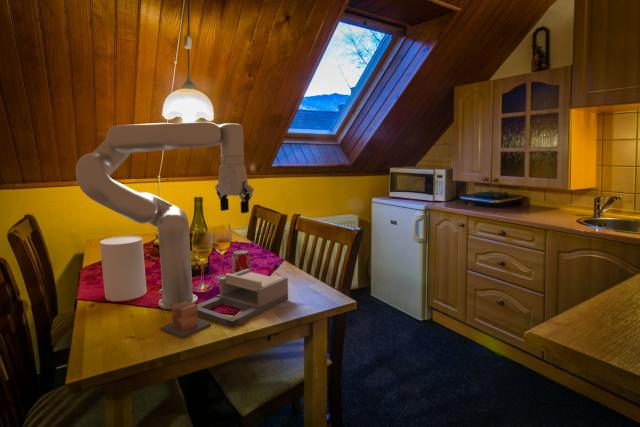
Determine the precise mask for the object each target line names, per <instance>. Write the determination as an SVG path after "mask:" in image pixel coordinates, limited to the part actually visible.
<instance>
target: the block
mask: <svg viewBox="0 0 640 427" xmlns="http://www.w3.org/2000/svg"><path fill="white" fill-rule="evenodd" d="M171 314H172V315H171V316H172V322H173V326H175V327H177V328H179V329H182V330H186V329H188V328H190V327H193V326H195V325H197V324H198V319H199V318H198V317H199V316H198V313H197V303H196V304H193V303H190V302H187V301H185V302H182V303H180V304H177V305H174V306H172V310H171Z"/></svg>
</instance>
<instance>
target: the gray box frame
mask: <svg viewBox="0 0 640 427" xmlns="http://www.w3.org/2000/svg"><path fill="white" fill-rule="evenodd" d="M249 272H250V269H245V270H242V271H239V272H237V273H234V274H233V275H237V276H240V275H243V274H246V273H249ZM288 281H289V279H288V277H286V276H285V277H281V278H279V280H276V281H274V282H272V283H269V284H267V285H264V286H262V287H260V288H257V291H253V290H250V289H246V288H242V287H238V286H234V285H230V284H227V283H226V282H225V276H223V277H220V278H218V285H219V294H217V295H216V296H215V297H213V298H210V299H208V300H205V301H203V302H200V303H196V305H197V313H198V317H199V318H203V319H206V320H208V321H211V322H214V323H217V324H220V325H223V326H226V327H229V328H231V329H233V328H235V327H237V326H239V325H241V324H244V323H245V322H248V321H249V320H252V319H254V318H256V317H257V316H261V314H264V313H265V312H267V311H269V310H271V309H273V308H276V307H277V306H279V305H281V304H283V303H286V302H288V301H289V282H288ZM219 304H221V305H223V304H225V305H224V306H227V305H229V306H228V307H230V306H232V307H231V308H233V307H236V308H235V309H237V308H238V309H237V310H240V311H241V312H239V313H237V314H235V315H233V316H229V315H226V314H223V313H220V312H216V311H213V310H211V309H214V308H216V307H218V306H220V305H219ZM217 305H218V306H217ZM215 306H216V307H215ZM213 307H214V308H213ZM208 309H209V310H208Z"/></svg>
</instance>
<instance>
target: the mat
mask: <svg viewBox="0 0 640 427" xmlns="http://www.w3.org/2000/svg"><path fill="white" fill-rule="evenodd" d="M211 326H212V324H211V322H209V321H206V320H204V319H200V318H198V324H197V325H195V326H193V327H190V328H188V329H186V330H182V329H179V328H177V327H175V326H173V321H172V322H169V323H168V324H165V325H162V326H160V330H161V331H163V332H165V333H168V334H169V335H173V336H175V337H177V338H180V339H185V338H187V337H189V336H192V335H193V334H196V333H198V332H200V331H203V330H205V329H206V328H209V327H211Z"/></svg>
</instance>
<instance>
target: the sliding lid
mask: <svg viewBox="0 0 640 427" xmlns="http://www.w3.org/2000/svg"><path fill="white" fill-rule="evenodd" d="M224 277H225V282H226V283H227V284H230V285H234V286H238V287H242V288H246V289H250V290H253V291H257V288H260V287H262V286H264V285H267V284H269V283H272V282H274V281H276V280H279V279H280V278H278V277H273V276H271V275H270V276H268V275H264V274H262V273H261V274H260V273H257V272H252V271H251V272H249V273H246V274H243V275H240V276H237V275H233V274H232V273H229V272H227V273H225V274H224Z"/></svg>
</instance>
